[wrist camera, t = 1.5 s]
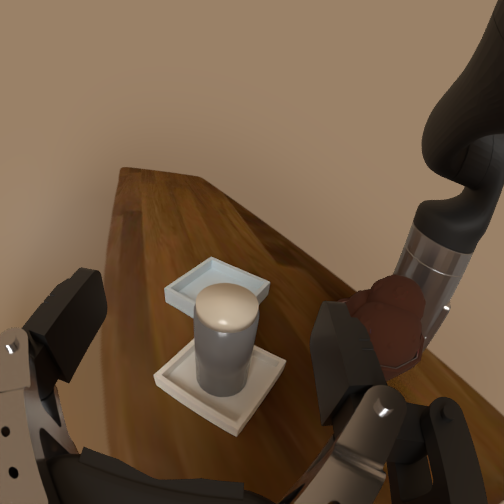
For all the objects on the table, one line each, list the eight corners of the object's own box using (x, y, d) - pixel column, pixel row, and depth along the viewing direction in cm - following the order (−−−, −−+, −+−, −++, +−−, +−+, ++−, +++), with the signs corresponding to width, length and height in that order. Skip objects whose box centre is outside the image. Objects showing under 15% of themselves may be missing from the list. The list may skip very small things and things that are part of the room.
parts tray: (283, 370, 31) (286, 360, 30) (236, 437, 23) (238, 429, 22) (210, 333, 35) (211, 322, 34) (156, 384, 27) (153, 375, 26)
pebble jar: (256, 371, 30) (272, 298, 24) (229, 406, 25) (238, 337, 20) (215, 349, 32) (219, 274, 26) (185, 379, 27) (179, 304, 22)
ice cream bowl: (310, 342, 35) (344, 243, 28) (386, 359, 33) (436, 268, 26) (295, 408, 26) (342, 307, 19) (387, 424, 24) (464, 334, 17)
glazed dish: (267, 294, 43) (270, 282, 42) (228, 337, 35) (229, 324, 33) (210, 269, 47) (211, 256, 46) (165, 301, 39) (164, 288, 38)
